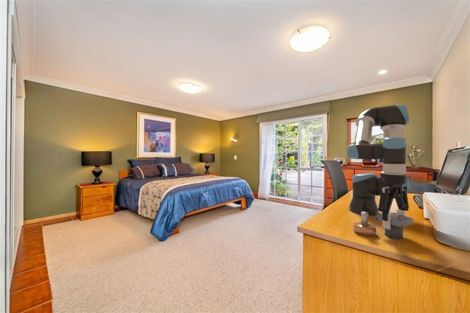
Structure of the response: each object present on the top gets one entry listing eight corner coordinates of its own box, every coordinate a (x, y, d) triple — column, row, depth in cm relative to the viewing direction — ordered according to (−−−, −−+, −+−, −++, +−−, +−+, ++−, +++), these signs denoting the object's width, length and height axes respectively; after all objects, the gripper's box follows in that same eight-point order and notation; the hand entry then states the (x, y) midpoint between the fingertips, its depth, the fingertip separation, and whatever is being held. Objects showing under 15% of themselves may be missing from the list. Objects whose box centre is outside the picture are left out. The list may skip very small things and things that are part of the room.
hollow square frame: (388, 217, 87) (388, 212, 87) (413, 224, 79) (413, 218, 79) (375, 219, 84) (375, 214, 84) (399, 227, 76) (399, 220, 76)
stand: (390, 232, 85) (390, 209, 85) (406, 237, 80) (406, 213, 80) (381, 234, 83) (381, 211, 83) (397, 239, 78) (397, 215, 78)
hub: (361, 227, 91) (361, 208, 91) (380, 234, 83) (380, 213, 83) (349, 230, 88) (349, 210, 88) (367, 237, 80) (367, 216, 80)
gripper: (399, 172, 89) (399, 220, 89) (367, 173, 81) (367, 227, 81) (420, 173, 82) (419, 226, 82) (387, 175, 74) (386, 233, 74)
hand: (393, 226), depth 82 cm, fingers closed on hollow square frame, 9 cm apart
